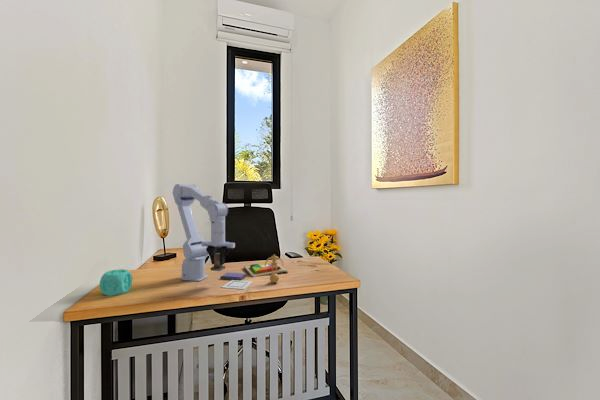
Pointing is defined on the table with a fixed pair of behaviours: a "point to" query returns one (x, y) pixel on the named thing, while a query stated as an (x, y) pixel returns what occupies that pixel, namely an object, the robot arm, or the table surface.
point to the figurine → (275, 277)
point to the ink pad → (233, 276)
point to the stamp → (217, 263)
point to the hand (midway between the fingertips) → (218, 264)
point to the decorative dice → (116, 282)
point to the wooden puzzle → (264, 269)
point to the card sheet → (237, 284)
